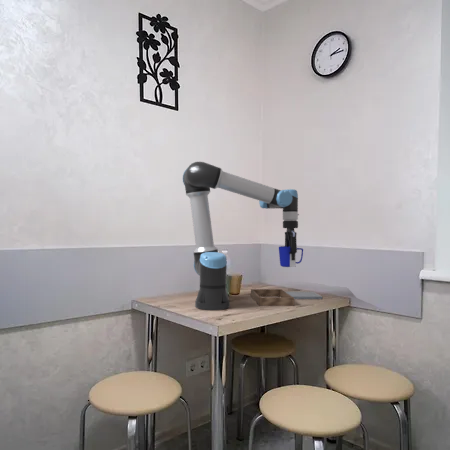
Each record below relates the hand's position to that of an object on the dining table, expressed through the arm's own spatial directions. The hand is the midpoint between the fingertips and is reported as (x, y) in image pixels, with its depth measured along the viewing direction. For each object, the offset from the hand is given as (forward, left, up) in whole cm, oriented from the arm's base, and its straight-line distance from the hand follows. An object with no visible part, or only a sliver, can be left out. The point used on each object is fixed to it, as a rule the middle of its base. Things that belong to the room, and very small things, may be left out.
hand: (290, 265), depth 181 cm
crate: (-11, -6, -16) cm, 21 cm away
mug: (0, -1, -1) cm, 1 cm away
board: (+7, +5, -16) cm, 18 cm away
